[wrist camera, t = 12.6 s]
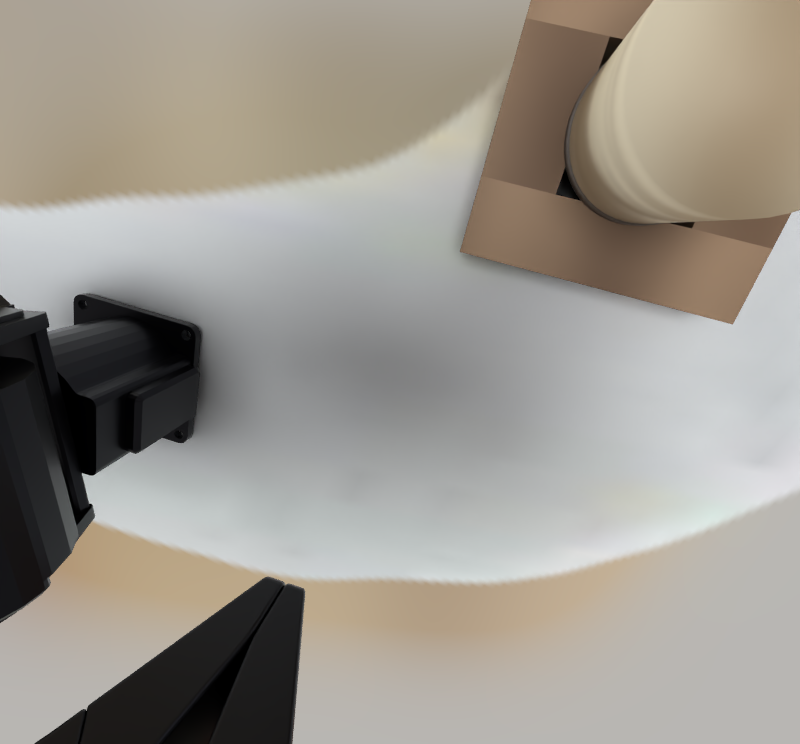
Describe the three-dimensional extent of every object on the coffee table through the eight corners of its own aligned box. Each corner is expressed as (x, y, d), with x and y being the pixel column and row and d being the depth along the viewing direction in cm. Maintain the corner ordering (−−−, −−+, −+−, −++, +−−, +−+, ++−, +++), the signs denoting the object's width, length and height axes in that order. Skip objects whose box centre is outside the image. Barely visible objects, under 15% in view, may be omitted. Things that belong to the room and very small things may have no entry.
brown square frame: (462, 248, 18) (459, 251, 15) (541, -29, 15) (556, -89, 12) (691, 309, 17) (732, 324, 14) (825, 31, 14) (912, -19, 11)
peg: (530, 208, 17) (582, 186, 9) (578, 59, 15) (702, -150, 7) (659, 241, 17) (846, 251, 8) (724, 91, 15) (1044, -88, 7)
